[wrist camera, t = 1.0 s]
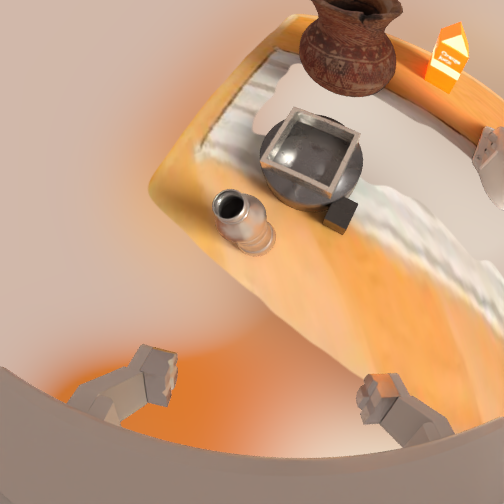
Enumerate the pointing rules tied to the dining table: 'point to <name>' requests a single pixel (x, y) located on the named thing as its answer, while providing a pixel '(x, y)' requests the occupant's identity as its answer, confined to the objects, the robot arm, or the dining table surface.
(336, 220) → the disc with square tube
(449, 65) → the orange juice
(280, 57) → the dining table surface
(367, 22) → the jug
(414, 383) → the dining table surface
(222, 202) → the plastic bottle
